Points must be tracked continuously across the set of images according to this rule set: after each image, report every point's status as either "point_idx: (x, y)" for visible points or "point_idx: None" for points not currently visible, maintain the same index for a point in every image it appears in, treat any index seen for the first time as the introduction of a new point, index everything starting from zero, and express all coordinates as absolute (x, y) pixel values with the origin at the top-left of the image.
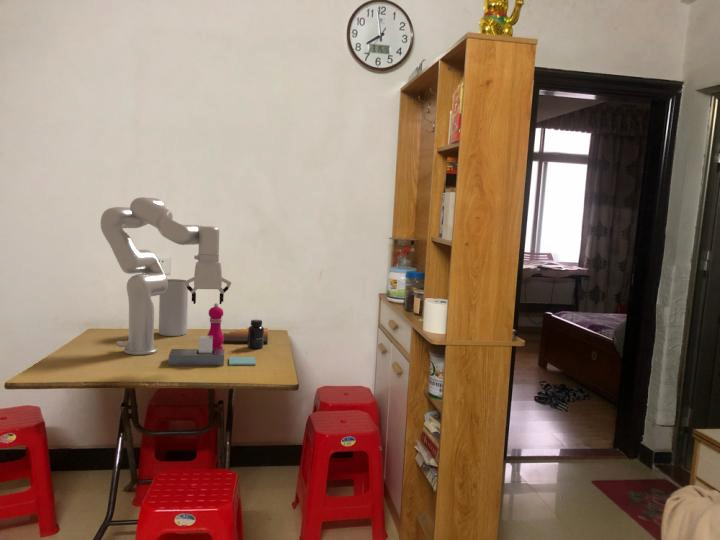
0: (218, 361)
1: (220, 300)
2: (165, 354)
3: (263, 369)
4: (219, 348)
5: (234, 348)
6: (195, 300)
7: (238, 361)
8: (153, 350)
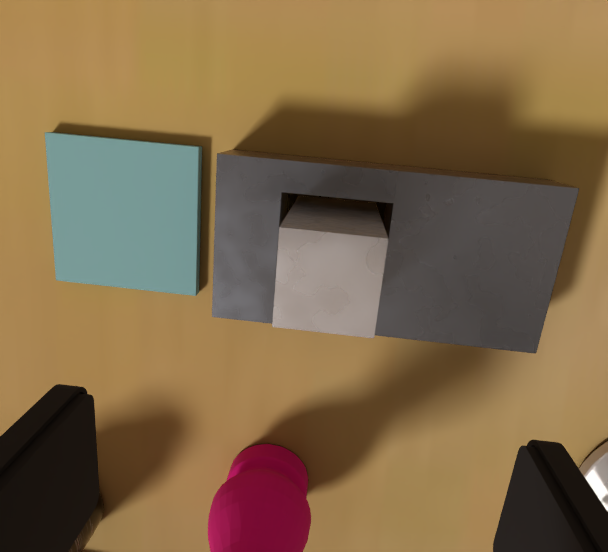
0: (258, 154)
1: (38, 422)
2: (532, 425)
3: (3, 35)
4: (243, 458)
5: (170, 495)
6: (534, 510)
7: (144, 190)
8: (602, 463)
